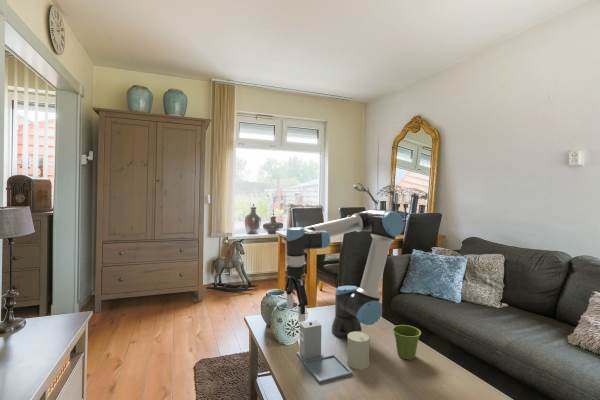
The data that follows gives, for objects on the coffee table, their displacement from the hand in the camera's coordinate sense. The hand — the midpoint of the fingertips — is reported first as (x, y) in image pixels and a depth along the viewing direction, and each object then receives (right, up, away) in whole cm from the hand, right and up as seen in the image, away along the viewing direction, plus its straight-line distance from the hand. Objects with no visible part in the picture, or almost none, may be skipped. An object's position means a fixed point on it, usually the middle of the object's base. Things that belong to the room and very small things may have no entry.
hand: (295, 314), depth 132 cm
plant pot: (+48, -20, +6) cm, 53 cm away
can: (+26, -20, -1) cm, 33 cm away
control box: (+6, -20, +5) cm, 21 cm away
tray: (+13, -20, -5) cm, 24 cm away
